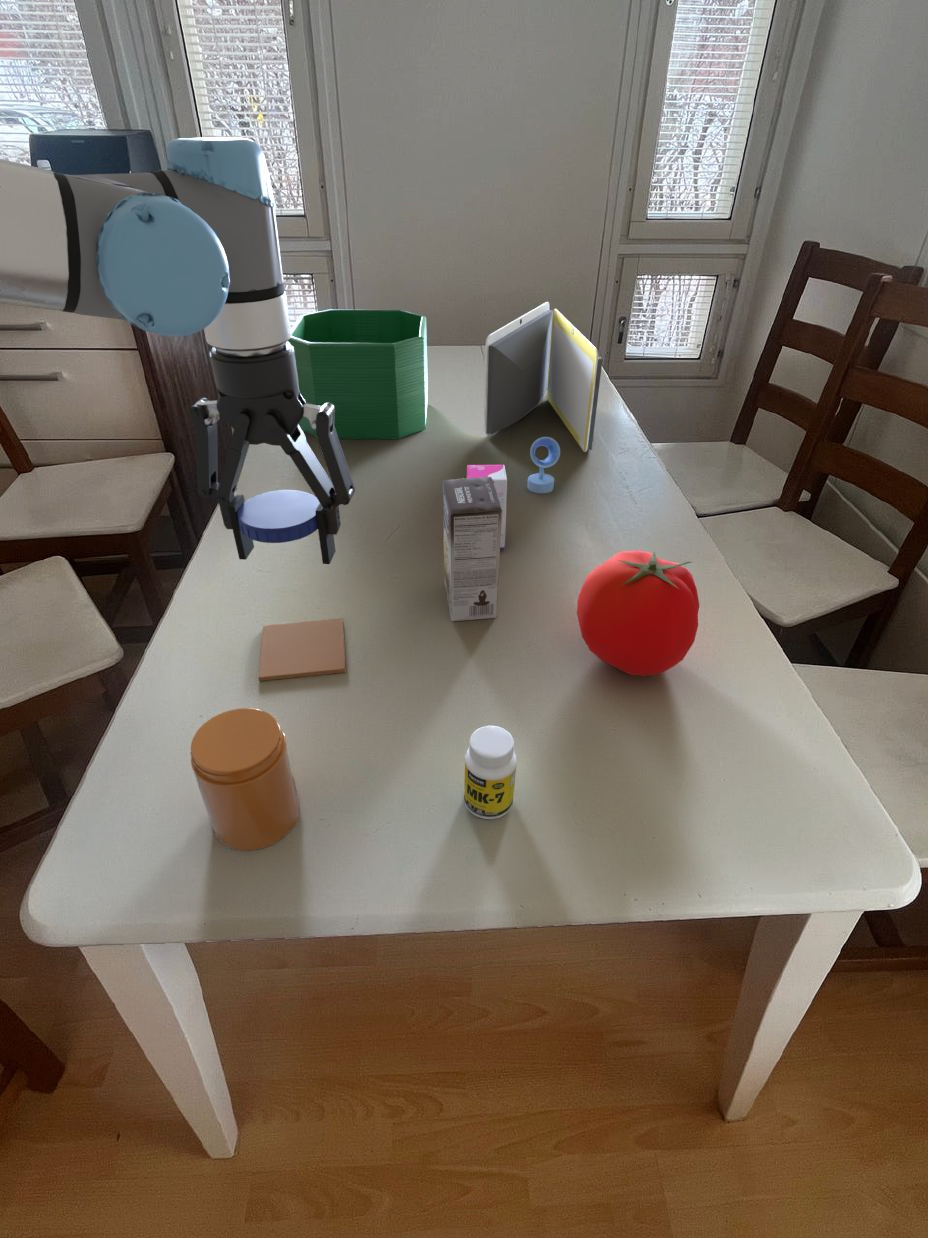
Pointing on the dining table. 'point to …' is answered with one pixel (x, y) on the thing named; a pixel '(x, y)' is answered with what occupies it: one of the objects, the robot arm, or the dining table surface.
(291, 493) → the lid
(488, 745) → the supplement bottle
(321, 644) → the coaster
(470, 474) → the supplement box
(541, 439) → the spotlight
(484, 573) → the coffee box
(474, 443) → the dining table surface
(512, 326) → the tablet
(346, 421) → the planter
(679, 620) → the tomato
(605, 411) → the dining table surface
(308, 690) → the dining table surface
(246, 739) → the jar
